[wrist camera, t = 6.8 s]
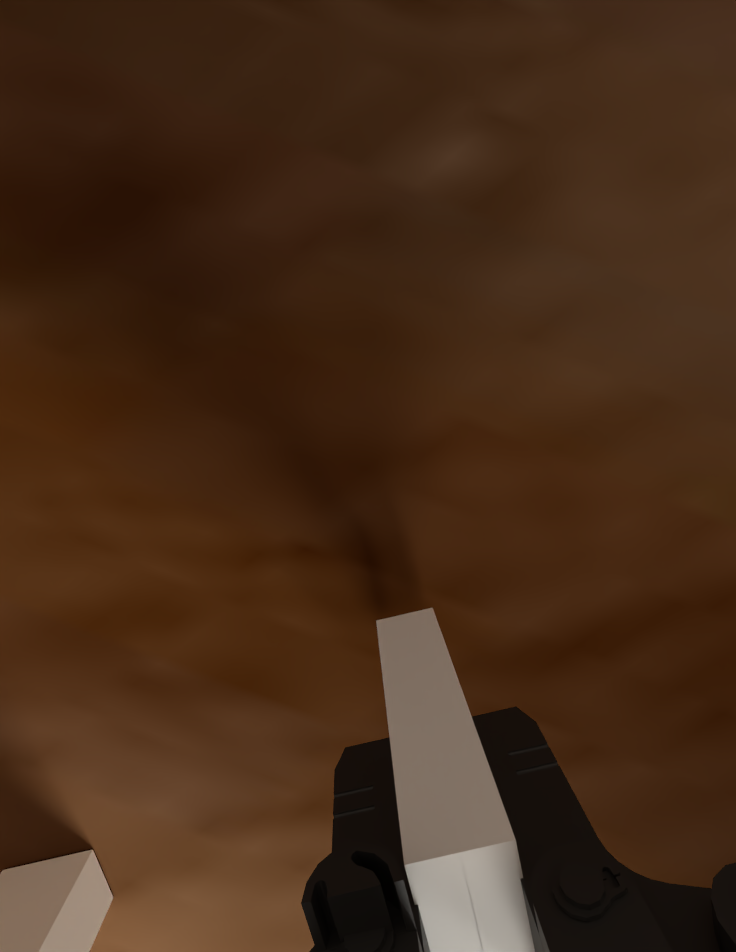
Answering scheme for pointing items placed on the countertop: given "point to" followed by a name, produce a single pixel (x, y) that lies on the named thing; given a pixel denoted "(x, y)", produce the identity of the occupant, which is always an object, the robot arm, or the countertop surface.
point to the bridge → (53, 904)
